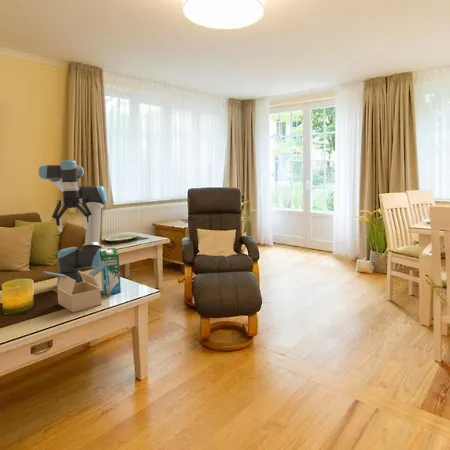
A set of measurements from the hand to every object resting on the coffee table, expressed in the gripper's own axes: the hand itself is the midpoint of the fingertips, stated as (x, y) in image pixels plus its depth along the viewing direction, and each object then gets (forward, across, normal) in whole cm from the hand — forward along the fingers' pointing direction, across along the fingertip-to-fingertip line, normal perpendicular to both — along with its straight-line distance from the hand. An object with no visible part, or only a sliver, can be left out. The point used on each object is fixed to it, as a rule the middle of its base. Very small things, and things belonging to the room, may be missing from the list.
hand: (73, 230), depth 194 cm
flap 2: (+26, +3, -8) cm, 27 cm away
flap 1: (+26, -9, -8) cm, 29 cm away
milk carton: (+39, +19, -1) cm, 43 cm away
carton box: (+39, -3, -8) cm, 40 cm away
